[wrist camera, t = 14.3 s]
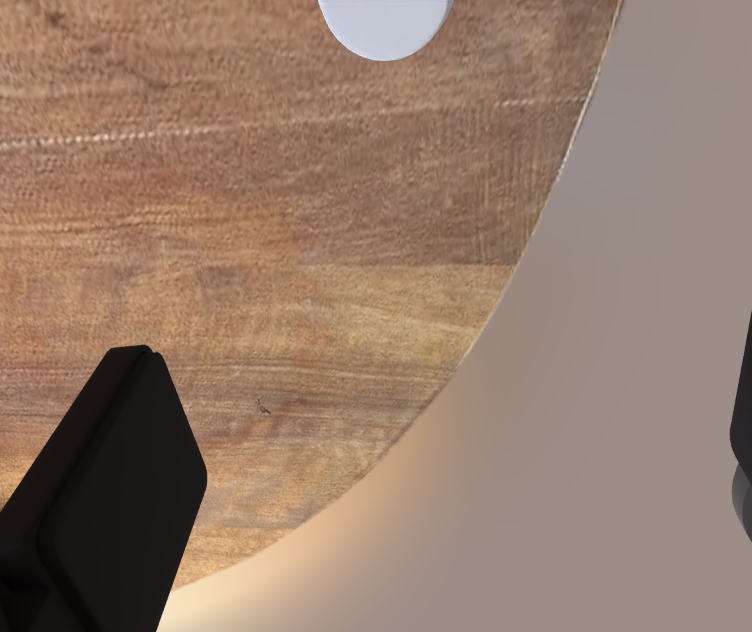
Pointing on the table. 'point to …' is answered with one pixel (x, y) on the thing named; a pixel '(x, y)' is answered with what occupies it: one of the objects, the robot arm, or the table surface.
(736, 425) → the robot arm
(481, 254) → the table surface
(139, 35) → the table surface
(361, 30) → the pill bottle
